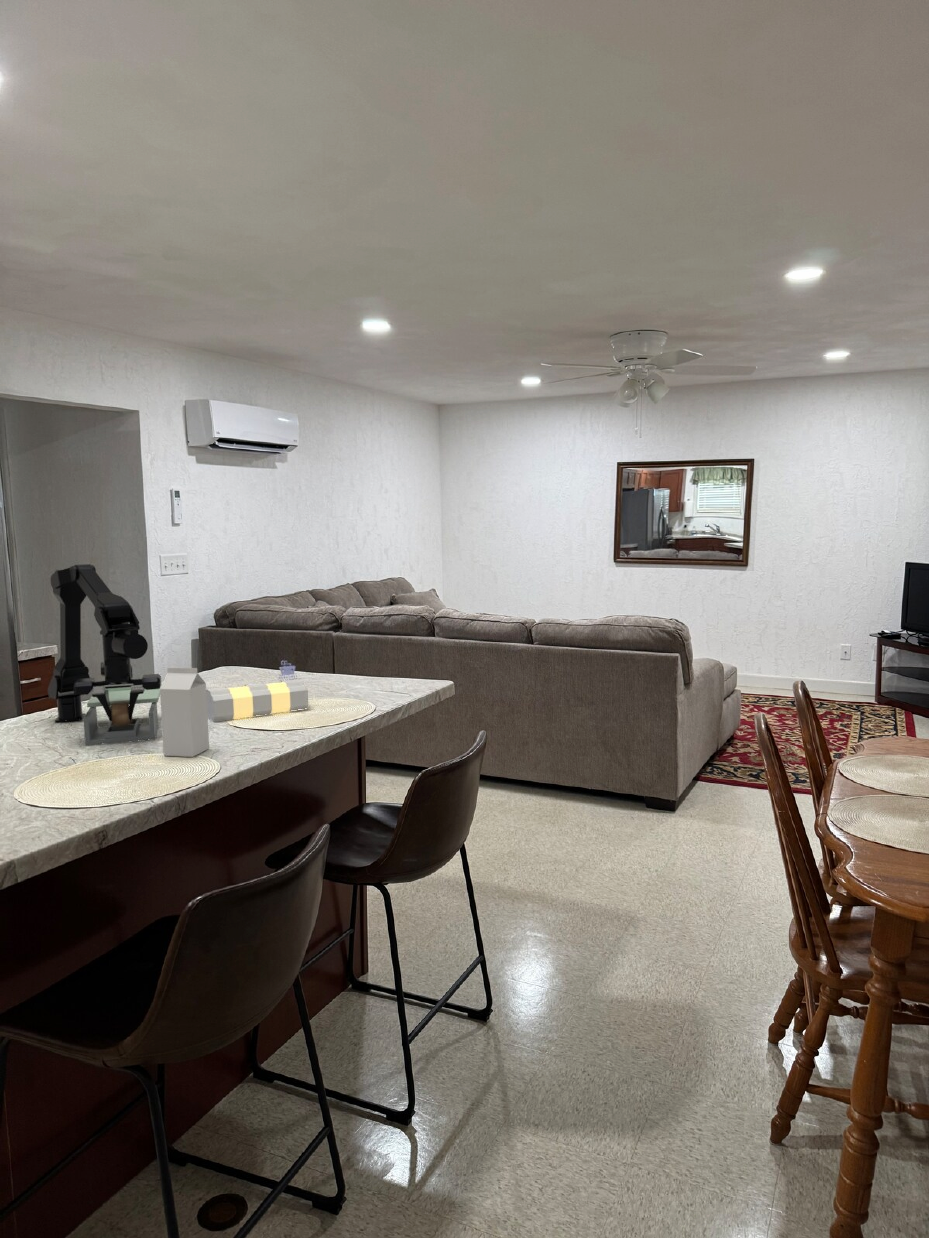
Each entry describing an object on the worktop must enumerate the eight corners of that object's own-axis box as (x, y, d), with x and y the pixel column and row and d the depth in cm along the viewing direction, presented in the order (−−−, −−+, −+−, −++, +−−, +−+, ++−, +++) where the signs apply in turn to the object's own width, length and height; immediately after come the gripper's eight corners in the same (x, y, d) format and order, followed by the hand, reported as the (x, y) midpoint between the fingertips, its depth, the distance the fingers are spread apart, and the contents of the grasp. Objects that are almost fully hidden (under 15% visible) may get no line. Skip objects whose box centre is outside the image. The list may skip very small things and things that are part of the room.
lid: (95, 695, 216) (94, 683, 216) (161, 690, 221) (160, 679, 221) (87, 707, 202) (86, 695, 202) (157, 702, 207) (157, 690, 206)
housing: (93, 731, 206) (91, 705, 206) (158, 726, 211) (156, 700, 210) (85, 745, 193) (83, 717, 192) (154, 739, 197) (153, 712, 197)
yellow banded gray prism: (296, 704, 235) (294, 658, 233) (308, 711, 226) (307, 663, 224) (205, 716, 222) (202, 667, 221) (214, 724, 213) (212, 673, 212)
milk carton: (193, 757, 182) (188, 671, 179) (163, 756, 183) (158, 670, 181) (209, 748, 189) (205, 665, 186) (180, 747, 190) (176, 664, 188)
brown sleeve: (110, 726, 196) (109, 705, 195) (112, 723, 200) (111, 702, 199) (129, 725, 197) (127, 704, 197) (130, 721, 201) (129, 700, 200)
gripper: (160, 647, 207) (164, 709, 209) (78, 652, 202) (82, 715, 203) (158, 654, 196) (162, 719, 198) (71, 659, 191) (75, 726, 193)
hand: (120, 719), depth 198 cm, fingers closed on brown sleeve, 4 cm apart
